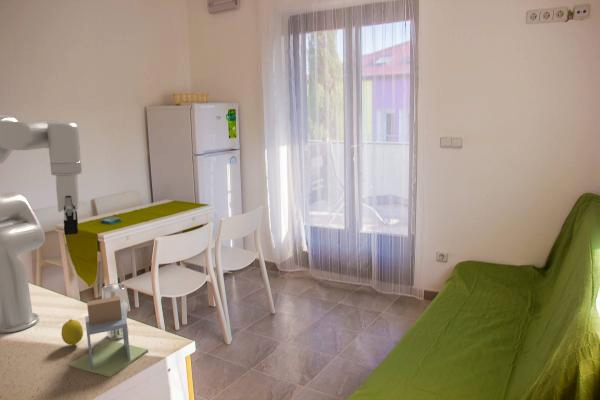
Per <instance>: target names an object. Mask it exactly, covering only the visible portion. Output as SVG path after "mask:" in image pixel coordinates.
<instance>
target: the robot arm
mask: <svg viewBox="0 0 600 400" xmlns="http://www.w3.org/2000/svg"><path fill="white" fill-rule="evenodd" d="M41 149H48V154H49V163H50V165H49V166H50V173H51V176H55V188H56V189H55V190H56V201H57V212H59V213H62V211H63V216H64V217H63V226H64V235H66V236H68V235H77V234H79V228H78V224H79V223H78V221H79V220H78V209H79V181H78V175H81V174H82V173H83V171H82V170H83V169H82V161H81V160H82V157H81V156H82V155H81V145H80V134H79V127H78V124H76V123H75V122H71V121H69V122H68V121H59V120H54V119H53V120H51V119H47V120H24V121H23V120H22V121H19V120H18V119H17V118H16V117H13V116H12V115H10V114H9V115H7V114H0V165H1V164H3V163H5V162H6V161H7V159H8V158H9V157H10V155H11V153H12V152H13V151H30V150H41ZM10 223H12V224H10ZM5 224H7V225H5ZM2 225H4V226H2ZM0 226H1V227H0V333H5V334H7V333H14V332H19V331H22V330H23V331H24V330H25V329H29V328H31V327H32V326H34V325H36V324H37V323H39V320H40V317H39V315H38V314H37V313H35V312H33V307H32V300H31V293H30V286H29V279H28V271H27V268H26V266H25V264H24V262H22V261H21V260H20V259H19V257H18V256H19V255H22V254H24V253H28V252H32V251H34V250H35V251H36V250H37V249H40V248H41V247H42V246H43V245H44V244H45V241H46V235H45V234H46V233H45V231H44V228H43V226H42V224H41V223H40V221H39V218H38V217H37V215H36V214H35V212H34V210H33V208H32V206H31V204H30V203H29V201H28V200H27V199H26V197H25V196H24V195H23V194H20V193H19V192H13V191H12V192H11V191H10V192H4V193H0Z"/></svg>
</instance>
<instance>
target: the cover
mask: <svg viewBox="0 0 600 400" xmlns="http://www.w3.org/2000/svg"><path fill="white" fill-rule="evenodd" d="M86 305H87V312H88V313H87V314H88V315H87V316H85V317H84V318H85V319H84V321H85V327H86V328H85V329H86V337H87V347H88V353H89V356H90V365H91V370H92V369H94V368H93V359H92V351H93V350H92V344H91V335H95V334H100V333H104V332H108V331H111V330H116V329H121V328H122V329H123V338H122V340H123V344H124V346H125V350H126V354H127V358H128V361H130V350H129V345H130V341H129V334H128V329H129V328H128V329H127V326H128V321H127V322H126V319H125V315H124V312H123V310H121V303H120V298H119V296H116V297H110V298H105V299H102V298H100V299H95V300H89V301H86Z"/></svg>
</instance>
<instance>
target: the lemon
mask: <svg viewBox="0 0 600 400" xmlns="http://www.w3.org/2000/svg"><path fill="white" fill-rule="evenodd" d="M83 336H84V330H83V326H82V324H81V322H79V320H76V319H71V318H70V319H69V320H68V321H66V322H65V323H64V324H63V325H62V328H61V337H62V340H63V342H64V343H65V344H67V345H70V346H75V345H77V344H78V343H79V342H80V341H82V339H83Z"/></svg>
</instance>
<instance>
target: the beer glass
mask: <svg viewBox="0 0 600 400" xmlns="http://www.w3.org/2000/svg"><path fill="white" fill-rule="evenodd" d="M126 287H127V286H126V285H125V284H124V283H111V284H107V285H104V286H103V287H102V288H101V299H105V298H110V297H116V296H119V298H120V303H121V310H123V312H124V315H125V319H126V322H127V323H128V321H127V319H128V308H129V307H128V306H129V305H128V304H129V303H128V302H129V301H128V294H127V293H128V292H127V288H126ZM127 329H128V335H129V334H130V330H129V326H128V325H127ZM107 338H108V339H110V340H120V339H123V329H122V328H121V329H116V330H111V331H107Z"/></svg>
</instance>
